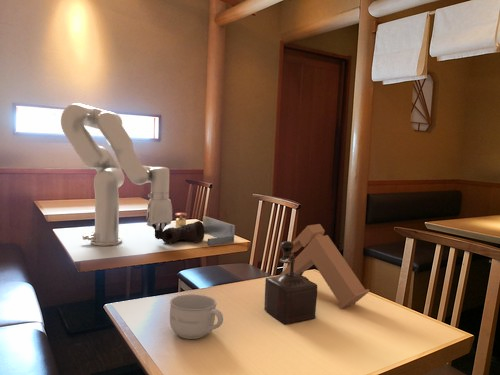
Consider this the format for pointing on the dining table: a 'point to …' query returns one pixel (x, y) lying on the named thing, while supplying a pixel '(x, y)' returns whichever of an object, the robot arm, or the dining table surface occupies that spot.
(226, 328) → the dining table surface
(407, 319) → the dining table surface
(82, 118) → the robot arm
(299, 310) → the pepper mill
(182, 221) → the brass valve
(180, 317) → the teacup
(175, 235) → the pipe
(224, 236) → the grey angle bracket
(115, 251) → the dining table surface
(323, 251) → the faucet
